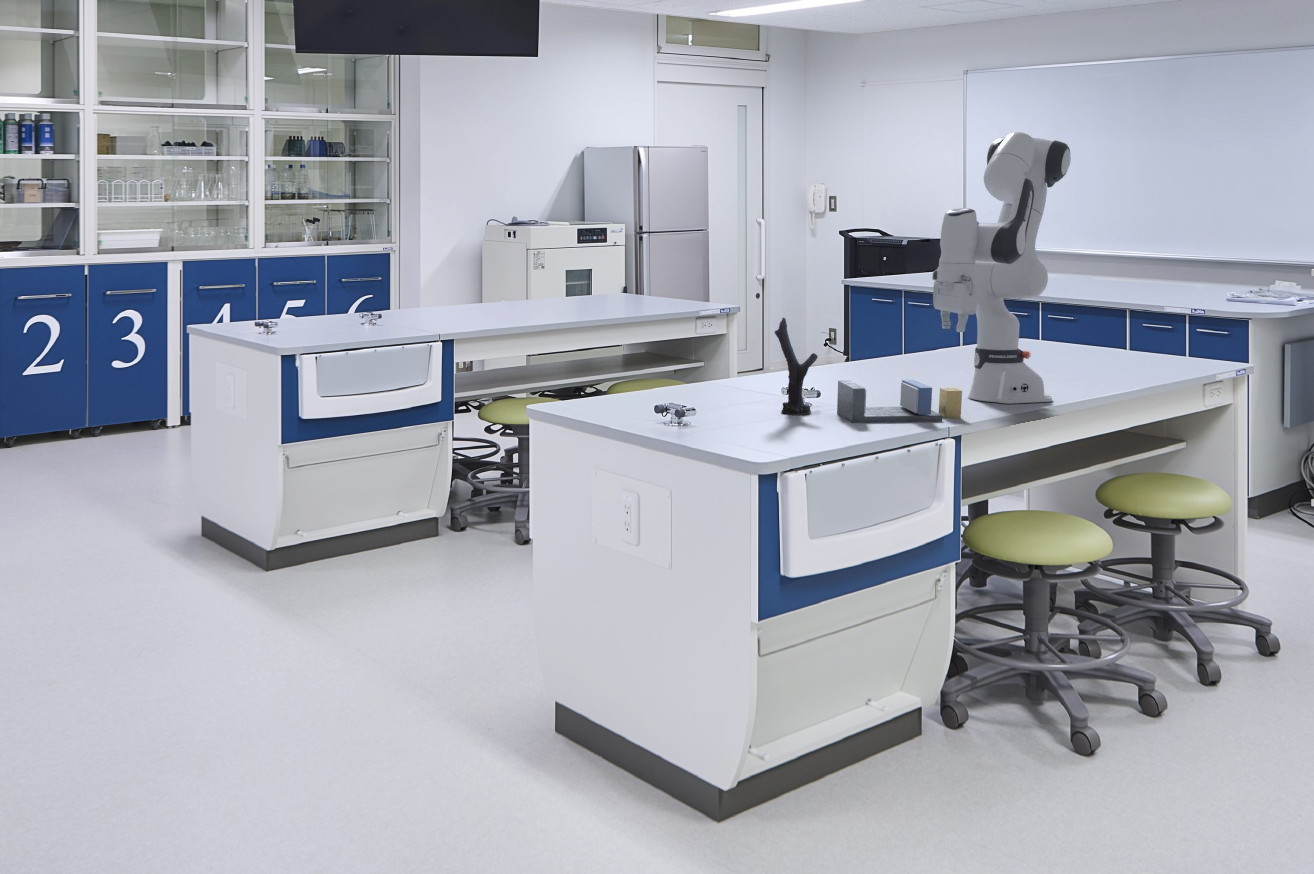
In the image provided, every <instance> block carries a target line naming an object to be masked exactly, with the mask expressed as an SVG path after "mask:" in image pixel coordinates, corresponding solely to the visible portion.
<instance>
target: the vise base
mask: <svg viewBox="0 0 1314 874" xmlns="http://www.w3.org/2000/svg"><path fill="white" fill-rule="evenodd" d="M836 403H837V405H836V407H837V408H836V414H837V415H839V416H841V417H843V418H844V419H846V421H847V420H848V422H851V424H852V423H853V424H855V423H857V422H866V423H912V422H914V423H919V422H921V423H922V422H923V423H925V422H927V423H929V422H943V417H942V415H941V414H939V412H936V411H934V410H933V409H931V414H923V415H919V414H917V413H914V412H912V411H910V410H908V409H906V408H904V407H902V406H867V389H866V387H863V386H861V385H860V384H857V383H855V382H853V381H851V380H849V379H848V380H838V381H837V402H836ZM857 424H858V423H857Z"/></svg>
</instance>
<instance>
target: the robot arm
mask: <svg viewBox="0 0 1314 874" xmlns="http://www.w3.org/2000/svg"><path fill="white" fill-rule="evenodd" d="M1071 162H1072V161H1071V150H1070V147H1069V146H1068V144H1067V143H1065V142H1062V141H1060V140H1056V139H1055V140H1050V139H1044V138H1040V137H1039V138H1038V137H1032V135H1029V134H1028V133H1025V132H1017V131H1016V132H1012V133H1010V134H1008V135H1006V136H1005V137H999V138H996V139H995V140H993V142H991V143H990V146H989V148H988V150H987V155H986V167H985V171H984V174H983V184H984V186H985V189H986V190H987V192H988V193H989V194H990V195H991V196H992V197H993V198H995V199H996V200H998V201H999V202H1003V204H1002V207H1001V210H1000V212H999V215H998V219H997V222H979V220H977V219H978V218H977V211H976V210H974V209H972V208H967V207H966V208H964V207H963V208H953V209H950V210H948V211H946V212H945V213H944V216H943V220H942V225H941V230H940V241H939V246H940V247H939V248H940V252H941V253H940V257H939V260H938V267H937V268H936V269H935V270H934V271H933V272H932V278H931V279H932V280H933V281H934V282H933V291H932V292H933V293H932V298H933V299H932V303H933V308H934V309H935V310H940V317H941V328H942V329H946V330H950V329H951V327H952V321H951V319H950V318H951V317H950V315H951V313H954V314H957V318H958V321H957V324H956V325H955V330H956V332H957V333H965V332H966V325H967V323H968V319H969V315H971V316H973V315H975V316H976V322H977V323H976V324H977V331H976V332H977V334H976V335H977V336H976V337H977V339H976V347H975V349H974V354H973V355H974V357H973V364H974V365H973V367H974V371H973V372H974V373H973V377H972V378H973V379H972V381H971V382H972V383H971V387H970V391H969V392H968V395H967V397H968V399H971V400H976V401H980V402H991V403H1000V404H1026V403H1027V404H1028V403H1048V402H1053V396H1051V395H1049V394H1047V393H1045V384H1044V380H1043V378H1042V377H1041V376H1040V375H1039V373H1037V372H1036V371H1034V370H1033V368H1031V367H1030V366H1029V365H1028V364H1026V363H1025V362H1024V359H1025V360H1029V359H1030V358H1031V356H1032V353H1031V352H1030V351H1029V350H1028V351H1027V350H1024V351H1023V350H1022V349H1020V348H1019V341H1020V340H1019V339H1020V338H1019V337H1020V325H1021V324H1020V321H1019V319H1018V317H1017V316H1016V315H1015V314H1013V313H1012V312H1010V311H1009V309H1008V308H1007V306H1006V304H1005V301H1004V300H1005V299H1012V300H1014V299H1015V300H1027V299H1032V298H1037V297H1040V296H1041V295H1042V294H1043V293H1044V291H1045V290H1046V288H1047V285H1048V282H1049V276H1048V275H1049V274H1048V270H1047V269H1046V266H1045V265H1044V264H1043V263H1042V261H1041V260H1040V259H1039V256H1037V252H1036V250H1037V249H1036V241H1037V236H1038V233H1039V228H1040V225H1041V222H1042V218H1043V215H1044V213H1045V212H1044V211H1045V208H1046V201H1047V195H1048V193H1047V192H1048V188H1052V187H1053V186H1054V185H1055V183H1057V182H1059V181H1060V180H1062V179H1063V178H1064V177H1065V176H1066V175H1067V173H1068V170H1069V168H1070V166H1071Z"/></svg>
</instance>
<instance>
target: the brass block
mask: <svg viewBox="0 0 1314 874" xmlns="http://www.w3.org/2000/svg"><path fill="white" fill-rule="evenodd" d="M938 396H939V399H938V414H941V415H942V418H944V419H961V418H962V417H961V416H962V401H963V400H962V399H963V398H962V397H963V390H961V389H959V388H956V387H939V395H938Z"/></svg>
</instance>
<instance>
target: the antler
mask: <svg viewBox="0 0 1314 874" xmlns="http://www.w3.org/2000/svg"><path fill="white" fill-rule="evenodd" d="M774 335H775V336H776V337H777V339H778V342H779V344H780V348H781V351H782V353H783V355H784V358H785V361H786V362H787V371H788V383H787V389H786V392H787V394H788V396H787V399H788V401H786V402H785V401H784V402H782V409H781V411H780V413H782V414H787V415H790V416H801V415H803V416H804V415H809V414H811V413H812V410H811V406H810V405H809V404H808V403H806V404H805V403H804V400H803V386H804V384H803V383H804V379H805V377H806V376H807V374H808V371H809V369H810V367H812V366H813V364H814V363H815V362H816V361H817V359H818V357H819V355H818V354H816V353H811V354H810V355H809V357H807V359H806V360H805V361H804V362H802V363H799V361H798V359H797V357H796V354H795V351H794V348H793V346H792V343H791V341H790V339H791V338H790V337H789V332H788V324H787V320H786V317H782V319H781V320H780V322H779V325H778V329H777V330H775V331H774Z"/></svg>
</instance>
